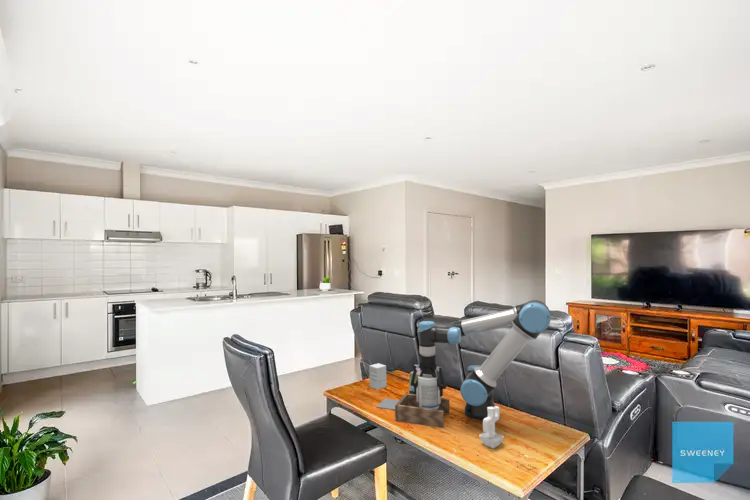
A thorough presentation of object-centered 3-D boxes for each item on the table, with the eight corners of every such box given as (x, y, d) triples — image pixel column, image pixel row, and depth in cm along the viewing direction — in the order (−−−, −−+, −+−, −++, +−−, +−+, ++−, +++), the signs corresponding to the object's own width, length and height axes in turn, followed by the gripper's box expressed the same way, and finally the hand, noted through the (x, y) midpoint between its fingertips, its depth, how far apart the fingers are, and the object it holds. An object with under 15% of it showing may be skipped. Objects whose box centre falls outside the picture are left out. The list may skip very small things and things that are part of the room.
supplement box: (378, 384, 229) (378, 362, 229) (386, 387, 223) (386, 365, 224) (369, 386, 224) (369, 365, 225) (377, 390, 219) (377, 367, 219)
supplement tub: (443, 408, 179) (442, 376, 180) (428, 413, 174) (427, 380, 175) (429, 402, 188) (428, 372, 188) (414, 406, 182) (413, 375, 183)
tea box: (426, 404, 197) (425, 375, 198) (408, 400, 203) (408, 372, 203) (437, 395, 210) (437, 368, 210) (420, 392, 215) (420, 365, 216)
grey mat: (406, 402, 200) (406, 401, 200) (399, 410, 189) (399, 410, 189) (384, 399, 205) (384, 398, 205) (376, 407, 193) (376, 406, 193)
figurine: (477, 445, 154) (476, 407, 155) (490, 437, 160) (490, 401, 161) (492, 452, 149) (492, 413, 149) (506, 444, 155) (505, 407, 155)
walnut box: (449, 413, 186) (449, 398, 186) (443, 427, 170) (442, 412, 170) (405, 407, 194) (405, 393, 194) (395, 420, 178) (395, 405, 178)
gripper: (452, 354, 181) (453, 401, 181) (407, 351, 189) (408, 396, 188) (449, 357, 174) (451, 407, 174) (402, 354, 182) (403, 402, 181)
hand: (428, 401), depth 181 cm, fingers closed on supplement tub, 10 cm apart
